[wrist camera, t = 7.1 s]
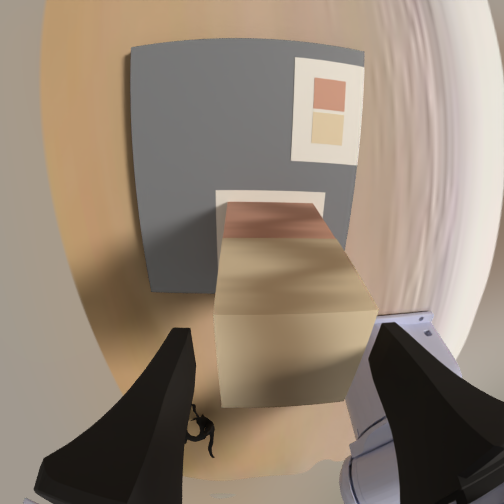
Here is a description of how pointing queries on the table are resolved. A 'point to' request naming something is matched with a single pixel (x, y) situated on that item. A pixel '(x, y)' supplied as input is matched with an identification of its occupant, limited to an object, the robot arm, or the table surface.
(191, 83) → the build board
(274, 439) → the table surface
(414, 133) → the table surface
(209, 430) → the creature
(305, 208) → the rust block
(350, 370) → the maple block
